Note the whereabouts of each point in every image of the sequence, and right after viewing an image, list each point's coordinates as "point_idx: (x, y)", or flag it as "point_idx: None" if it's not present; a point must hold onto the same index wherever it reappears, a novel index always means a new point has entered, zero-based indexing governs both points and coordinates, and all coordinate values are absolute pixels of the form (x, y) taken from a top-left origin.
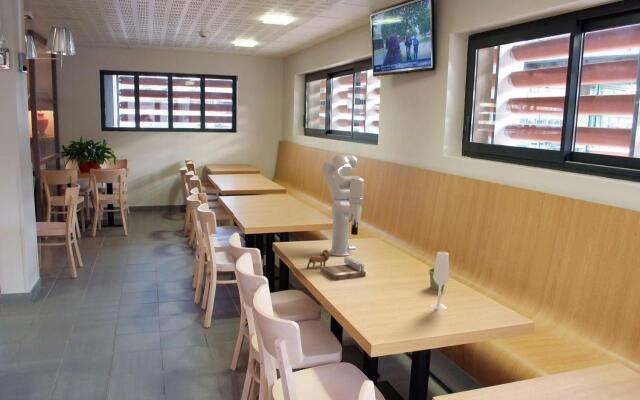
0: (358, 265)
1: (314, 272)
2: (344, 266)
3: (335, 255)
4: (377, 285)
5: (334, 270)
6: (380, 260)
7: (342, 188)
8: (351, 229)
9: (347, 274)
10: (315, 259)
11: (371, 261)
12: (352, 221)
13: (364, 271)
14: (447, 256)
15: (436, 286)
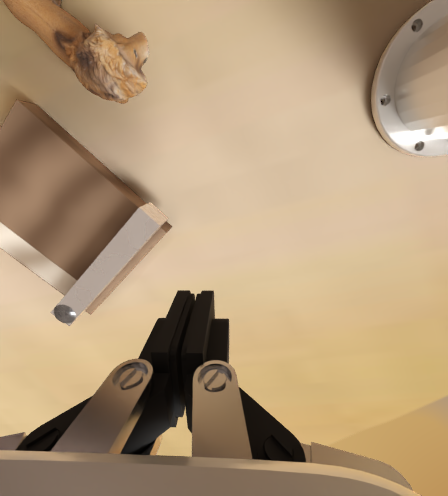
0: (59, 302)
1: (6, 76)
2: (108, 216)
3: (374, 76)
4: (37, 351)
5: (18, 189)
6: (353, 316)
7: None
8: (162, 326)
9: (14, 257)
10: (22, 22)
11: (323, 285)
12: None
13: (92, 309)
14: None
15: None
